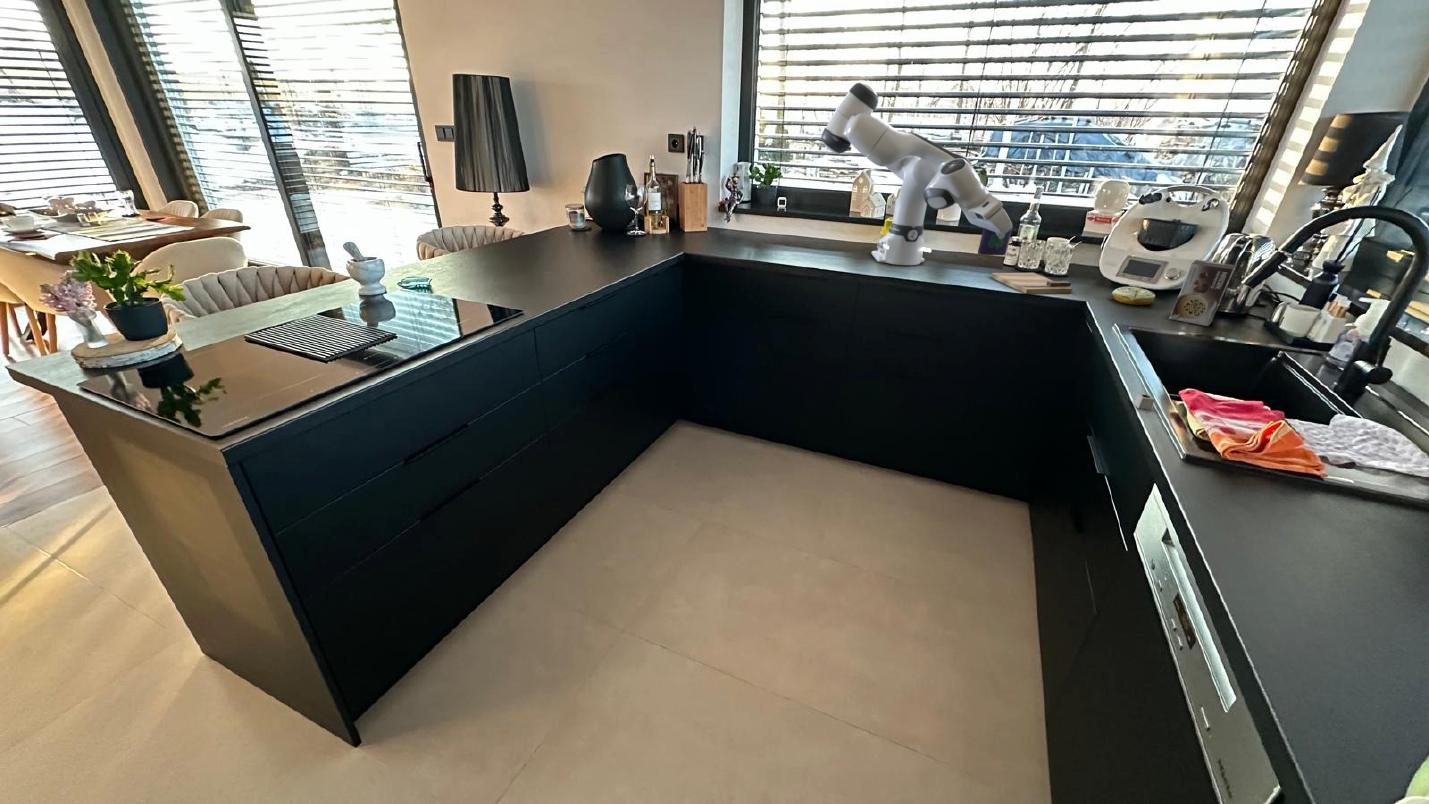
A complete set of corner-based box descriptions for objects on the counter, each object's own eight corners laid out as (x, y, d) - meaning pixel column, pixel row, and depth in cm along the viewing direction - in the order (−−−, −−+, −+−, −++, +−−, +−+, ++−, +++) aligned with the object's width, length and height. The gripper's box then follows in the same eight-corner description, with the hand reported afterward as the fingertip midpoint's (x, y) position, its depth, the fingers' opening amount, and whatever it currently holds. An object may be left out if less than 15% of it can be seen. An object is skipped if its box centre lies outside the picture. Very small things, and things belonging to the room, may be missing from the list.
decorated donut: (1102, 297, 177) (1107, 286, 175) (1128, 295, 179) (1132, 284, 178) (1133, 307, 168) (1137, 295, 166) (1159, 305, 171) (1164, 293, 169)
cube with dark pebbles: (1138, 408, 109) (1143, 396, 107) (1133, 403, 110) (1138, 392, 109) (1150, 409, 108) (1155, 398, 107) (1145, 404, 110) (1150, 393, 109)
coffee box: (1211, 322, 157) (1237, 265, 150) (1208, 327, 153) (1234, 268, 146) (1172, 314, 163) (1195, 258, 155) (1168, 318, 159) (1191, 262, 151)
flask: (1003, 253, 185) (1012, 220, 179) (1007, 255, 182) (1016, 222, 177) (975, 252, 184) (984, 219, 179) (979, 255, 182) (988, 221, 177)
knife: (1020, 285, 182) (1022, 281, 182) (1065, 284, 184) (1066, 280, 184) (1025, 286, 180) (1026, 283, 180) (1070, 286, 182) (1071, 282, 182)
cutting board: (990, 277, 196) (991, 273, 196) (1032, 276, 198) (1033, 272, 198) (1025, 293, 179) (1026, 289, 178) (1070, 292, 181) (1072, 288, 180)
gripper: (952, 206, 185) (973, 236, 190) (986, 217, 167) (1007, 250, 172) (968, 192, 183) (988, 223, 189) (1004, 201, 165) (1025, 235, 171)
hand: (998, 236), depth 180 cm, fingers closed on flask, 3 cm apart
